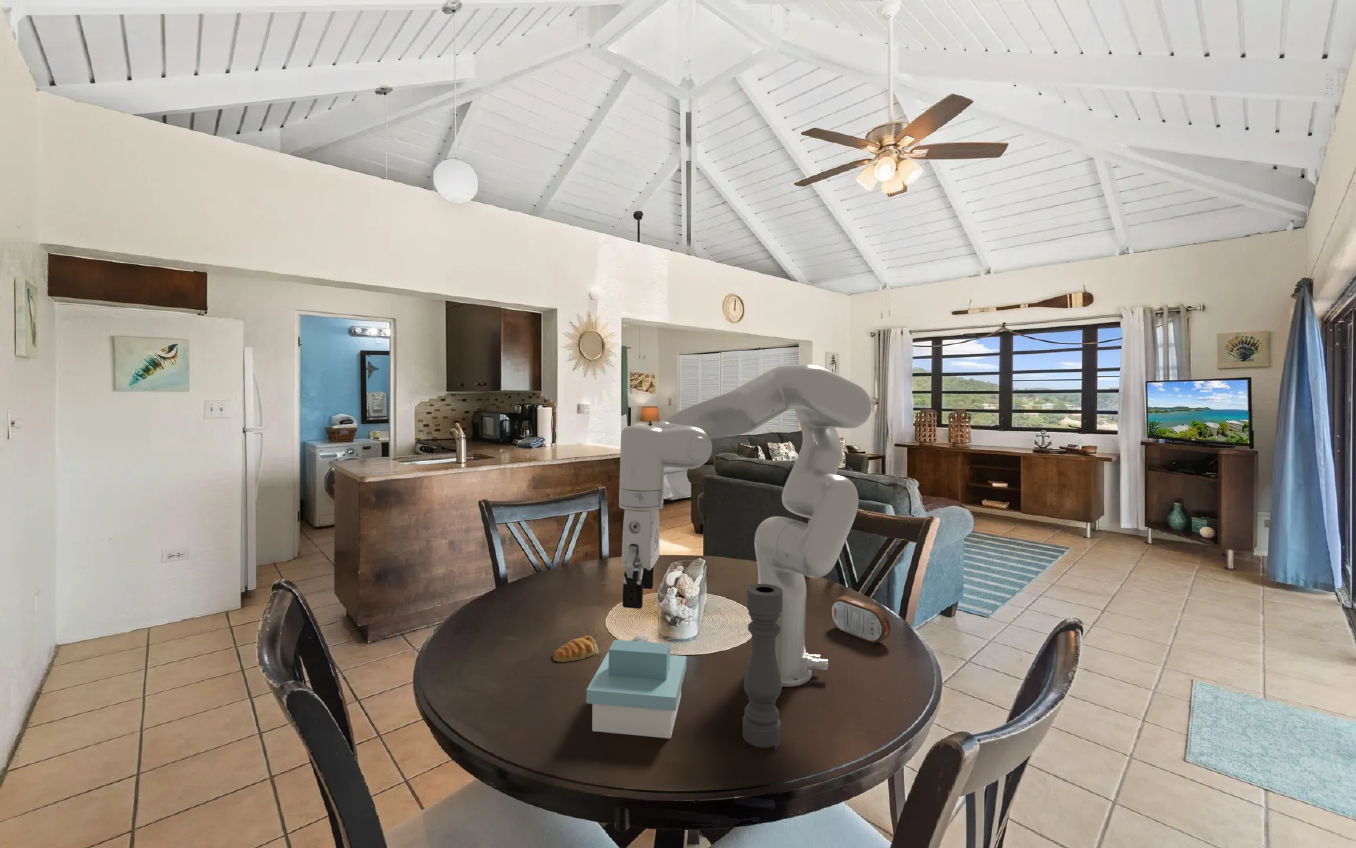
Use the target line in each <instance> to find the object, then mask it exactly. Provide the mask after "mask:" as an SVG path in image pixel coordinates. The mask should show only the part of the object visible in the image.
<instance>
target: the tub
mask: <svg viewBox="0 0 1356 848" xmlns="http://www.w3.org/2000/svg"><path fill="white" fill-rule="evenodd" d="M681 698H682V690H681V691H680V695H679V699H678V703H677V707H676V711H668V710H657V709H646V708H635V707H624V706H613V705H602V704H591V706H592V711H591V712H592V713H591V714H592V715H591V716H592V720H591V721H592V723H591V724H592V726H591V729H592V732H598V733H599V732H600V733H610V734H620V735H630V736H631V735H632V736H640V737H641V736H642V737H652V738H662V739H669V740H670V739H671V738H672V734H673V730H674V727H675V721H676V717H677V714H678V709H679V706H680V703H681Z"/></svg>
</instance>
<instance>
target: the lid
mask: <svg viewBox="0 0 1356 848" xmlns="http://www.w3.org/2000/svg"><path fill="white" fill-rule="evenodd" d="M686 671H687V656H686V655H672V654H671V643H665V642H653V641H652V642H651V641H650V642H640V641H629V640H626V639H625V640H624V639H623V640H622V639H614V640H613V642H612V643H611V645H610V646H609V649H608V652H607V653H606V655H605V657H604V658H603V660H602V662H601V664H600V666H598V669H597V671H596V672H595V674H594V675H593V677H592V680H591V681H590V683H589V685H588V687H587V688H586V698H585V699H586V700H585V702H586V704H591V705H592V704H602V705H613V706H624V707H635V708H646V709H657V710H668V711H676V707H677V703H678V699H679V695H680V691H681V692H682V686H683V682H684V678H685V675H686Z"/></svg>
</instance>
